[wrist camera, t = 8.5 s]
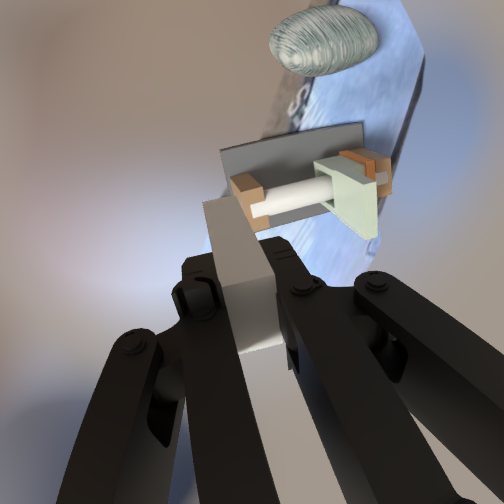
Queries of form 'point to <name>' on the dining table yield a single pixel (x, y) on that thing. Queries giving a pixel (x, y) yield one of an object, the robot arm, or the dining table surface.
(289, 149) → the rig
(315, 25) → the grey rounded lump
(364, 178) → the sleeve
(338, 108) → the dining table surface
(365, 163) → the ring
